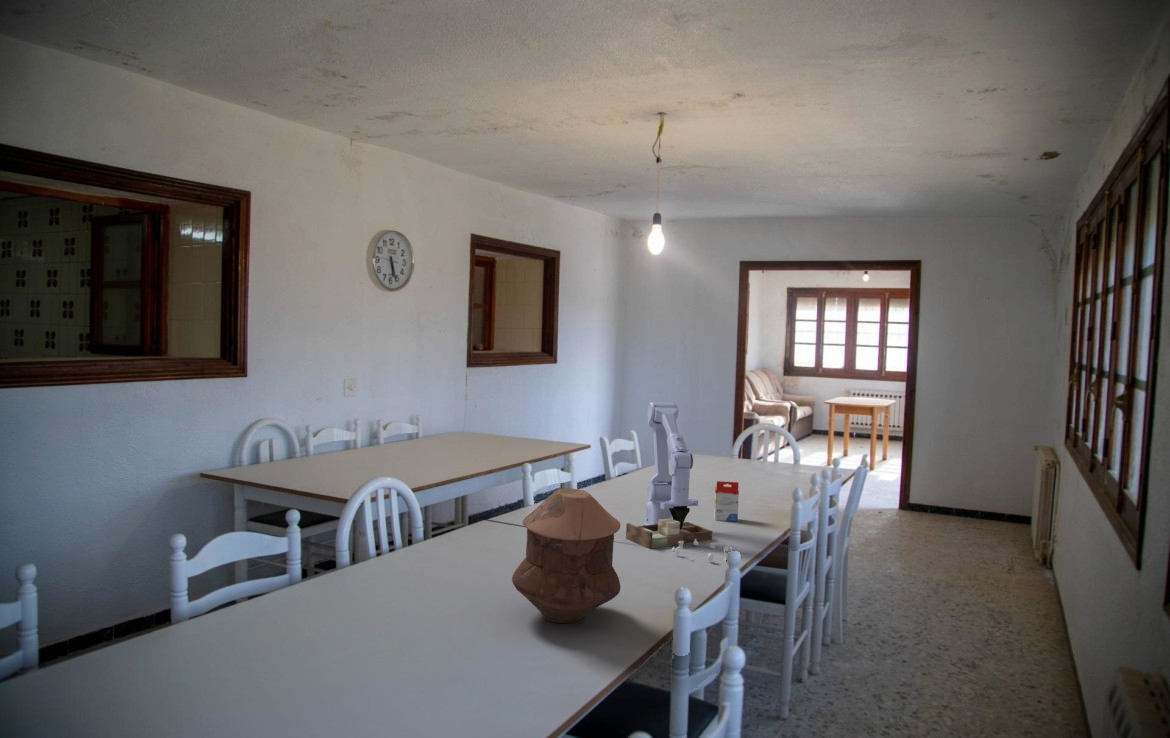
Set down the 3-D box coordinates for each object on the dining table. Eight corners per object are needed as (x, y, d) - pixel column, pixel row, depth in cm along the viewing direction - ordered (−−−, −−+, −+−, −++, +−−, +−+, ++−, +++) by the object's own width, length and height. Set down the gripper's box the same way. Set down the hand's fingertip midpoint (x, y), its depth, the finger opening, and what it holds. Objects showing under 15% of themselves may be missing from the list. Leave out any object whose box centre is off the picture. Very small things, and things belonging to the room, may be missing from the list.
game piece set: (734, 567, 227) (735, 554, 227) (667, 560, 231) (667, 548, 230) (734, 549, 246) (735, 537, 246) (672, 543, 250) (673, 532, 249)
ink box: (736, 518, 287) (738, 480, 286) (737, 522, 282) (739, 482, 281) (713, 517, 287) (715, 478, 287) (714, 520, 283) (716, 481, 282)
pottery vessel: (539, 591, 198) (543, 476, 196) (633, 607, 188) (638, 487, 187) (491, 625, 174) (496, 494, 172) (596, 646, 164) (602, 508, 163)
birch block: (657, 531, 251) (658, 519, 251) (669, 530, 253) (670, 518, 253) (667, 535, 246) (667, 523, 246) (679, 534, 249) (679, 521, 249)
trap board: (622, 536, 254) (623, 522, 254) (683, 529, 268) (684, 515, 267) (649, 548, 241) (650, 533, 241) (712, 539, 255) (712, 525, 255)
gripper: (670, 492, 244) (668, 534, 245) (705, 488, 252) (703, 529, 253) (657, 487, 250) (655, 528, 251) (691, 484, 258) (689, 524, 259)
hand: (678, 528), depth 252 cm, fingers closed
